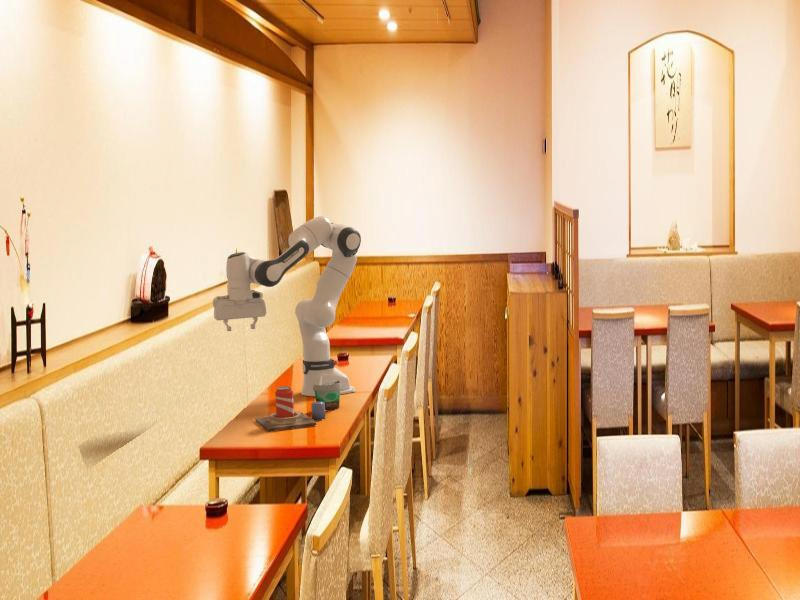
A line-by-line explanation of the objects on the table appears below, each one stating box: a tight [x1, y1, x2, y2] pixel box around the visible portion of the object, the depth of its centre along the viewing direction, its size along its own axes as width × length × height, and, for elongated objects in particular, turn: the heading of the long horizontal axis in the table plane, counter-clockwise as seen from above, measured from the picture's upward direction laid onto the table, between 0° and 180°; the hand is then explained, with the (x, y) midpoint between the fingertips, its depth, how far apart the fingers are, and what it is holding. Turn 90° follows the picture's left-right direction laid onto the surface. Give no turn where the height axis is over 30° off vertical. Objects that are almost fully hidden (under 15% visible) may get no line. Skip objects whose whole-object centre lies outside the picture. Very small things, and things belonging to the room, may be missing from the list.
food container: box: [313, 380, 342, 411], centre depth 387 cm, size 12×6×10 cm, turn 129°
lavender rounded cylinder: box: [310, 401, 326, 421], centre depth 372 cm, size 5×5×6 cm
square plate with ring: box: [254, 411, 317, 433], centre depth 366 cm, size 18×18×3 cm
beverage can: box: [275, 385, 295, 418], centre depth 366 cm, size 6×6×12 cm
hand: (241, 329), depth 390 cm, fingers open, 8 cm apart
